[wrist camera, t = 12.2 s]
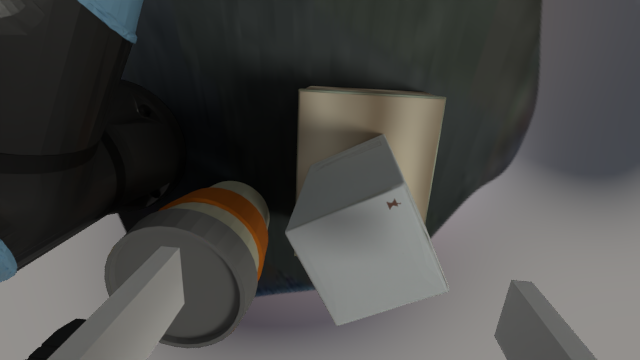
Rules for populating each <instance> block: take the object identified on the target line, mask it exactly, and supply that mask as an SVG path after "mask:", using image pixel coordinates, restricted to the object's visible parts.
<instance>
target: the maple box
mask: <svg viewBox="0 0 640 360" xmlns="http://www.w3.org/2000/svg"><path fill="white" fill-rule="evenodd" d="M445 103H446V97H443V96H434V95H431V94H429V93H426V92H415V91H397V90H378V89H360V88H342V87H324V86H309V87H308V88H306V89H302V88H300V89H299V92H298V132H297V172H296V202H297V200H298V197H299V195H300V192H301V189H302V187H303V184H304V181H305V179H306V176H307V173H308V171H309V168H310V166H311V165H312V164H315V163H317V162H319V161H322V160H324V159H326V158H329V157H331V156H333V155H336V154H338V153H340V152H343V151H345V150H347V149H350V148H352V147H354V146H356V145H359V144H361V143H364V142H366V141H368V140H370V139H373V138H375V137H377V136H380V135H382V134H385V136H386V139H387V141H388V143H389V145H390V147H391V149H392V151H393V154H394V156H395V158H396V160H397V162H398V165H399V167H400V169H401V171H402V174H403V176H404V178H405V181H406V183H407V185H408V187H409V189H410V192H411V194H412V196H413V199H414V201H415V203H416V205H417V208H418V210H419V213H420V215H421V217H422V220H423V222H424V225H425V221H426V215H427V210H428V204H429V198H430V192H431V186H432V180H433V174H434V168H435V162H436V156H437V150H438V144H439V138H440V132H441V127H442V121H443V115H444V109H445ZM294 256H297V254H296V253H295V251H294Z"/></svg>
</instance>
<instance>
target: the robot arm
mask: <svg viewBox="0 0 640 360" xmlns="http://www.w3.org/2000/svg"><path fill="white" fill-rule="evenodd" d="M142 4H143V0H0V282H2V281H5V280H8V279H9V278H11V277H12V276H14V275H15V273H17V271H18V270H20V269H21V268H23V267H25V266H26V265H28V264H29V263H31V262H33V261H34V260H36V259H37V258H39V257H41V256H42V255H44V254H45V253H47V252H48V251H50V250H52V249H53V248H55V247H57V246H58V245H60V244H61V243H63V242H65V241H66V240H68V239H69V238H71V237H73V236H74V235H76V234H77V233H79V232H81V231H82V230H84V229H85V228H87V227H89V226H90V225H92V224H93V223H95V222H97V221H98V220H100V219H101V218H103V217H104V216H106V215H109V214H115V213H121V212H127V211H132V210H138V209H142V208H145V207H148V206H150V205H153V204H154V203H156V202H158V201H159V200H161V199H162V198H163V197H165V196H166V195H168V194H169V193H170V192H171V191H172V190H173V189H174V188H175V187H176V186H177V184H178V183H179V181H180V179H181V177H182V175H183V172H184V169H185V164H186V147H185V141H184V137H183V134H182V131H181V129H180V126H179V124H178V122H177V120H176V119H175V117H174V115H173V114H172V112H171V111H170V110H169V109H168V107H167V106H166V105H165V104H164V103H163V102H162V101H161V100H160V99H159V98H158V97H156V96H155V95H154V94H153V93H151V92H150V91H148V90H146V89H145V88H143V87H141V86H139V85H137V84H134V83H131V82H128V81H124V80H120V79H121V76H122V73H123V70H124V67H125V65H126V62H127V59H128V56H129V53H130V50H131V47H132V44H133V43H134V44H135V43H136V41H137V36H136V34H135V32H136V27H137V23H138V19H139V15H140V11H141V7H142ZM183 305H184V292H183V281H182V270H181V259H180V249H179V248H176V247H165V246H161V247H160V248H159V249H158V250H157V251H156V252H155V253H154V254H153V255H152V256H151V257H150V258H149V259H148V260H147V261H146V262H145V263H144V264H143V265H142V266H141V267H140V268H139V269H138V270H137V271H135V272H134V273H133V274H132V275H131V276H130V277H129V278H128V279H127V280H126V281H125V282H124V283H123V284H122V285H121V286H120V287H119V288H118V289H117V290H116V291H115V292H114V293H113V294H112V295H111V296H110V297H109V298H108V299H107V300H106V301H105V302H104V303H103V304H102V306H101V307H99V308H98V309H97V310H96V311H95V312H94V313H93V314H92V315H91V316H90V317H89V319H87V320H85V319H75V320H73V321H71V322H70V323H68V324H66V325H65V326H63V327H61V328H60V329H58V330H57V331H56V332H54V333H53V334H52V335H51V336H50V337H49V338H48V339H47V340H46V341H45V342H44V343H43V344H42V346H41V347H39V348H37V349H36V350H35V351H34V352H33V353H32V354H31V355H30V356H29V358H28V359H27V360H147V359H148V357H149V355H150V354H151V353H152V351H153V350H154V348H155V347H156V345H157V344H158V342H159V341H160V339H161V338H162V336H163V335H164V333H165V332H166V330H167V329H168V327H169V326H170V324H171V323H172V321H173V320H174V318H175V317H176V315H177V314H178V312H179V311H180V309H181V308H182V306H183ZM494 336H495V338H496V340H497V342H498V344H499V345H500V347H501V349H502V351H503V353H504V354H505V357H506V358H507V360H597V359H596V358H595V357H594V355H593V354H592V353H591V352H590V351H589V349H588V348H587V347H586V346H585V345H584V343H583V342H582V341H581V340H580V339H579V337H578V336H577V335H576V334H575V333H574V331H573V330H572V329H571V328H570V327H569V326H568V324H567V323H566V322H565V321H564V320H563V318H562V317H561V316H560V315H559V314H558V312H557V311H556V310H555V309H554V308H553V307H552V305H551V304H550V303H549V302H548V301H547V300H546V298H545V297H544V296H543V295H542V293H541V292H540V291H539V290H538V289H537V287H536V286H535V285H534V284H533V283H532V282H527V281H517V280H511V283H510V287H509V290H508V293H507V296H506V300H505V303H504V306H503V310H502V313H501V316H500V319H499V322H498V326H497V329H496V332H495V335H494Z"/></svg>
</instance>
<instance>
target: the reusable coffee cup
mask: <svg viewBox="0 0 640 360" xmlns="http://www.w3.org/2000/svg"><path fill="white" fill-rule="evenodd" d="M268 225H269V210H268V207H267V204H266V202H265V200H264V199H263V197H262V196H261V195H260V194H259V193H258V192H257V191H256V190H255V189H253V188H252V187H251V186H249V185H246V184H244V183H241V182H237V181H224V182H220V183H217V184H215V185H213V186H211V187H209V188H202V189H199V190H196V191H193V192H191V193H189V194H187V195H185V196H183V197H181V198H179V199H177V200H175V201H173V202H170V203H169V204H167V205H165V206H164V207H162V208H161V209H160V210H158V211H157V212H154V213H151V214H149V215H148V216H146V217H144V218H143V219H141V220H140V221H139V222H138V223H137V224H136V225H135V226H134V227H133V228H132V229H131V230H130V231H129V232H128V233H127V234H126V235H125V236H124V237H123V238H122V239H120V241H119V242H117V243H116V245H114V247H113V249H112V250H111V252H110V254H109V255H108V258H107V261H106V265H105V283H106V288H107V291H108V294H109V297H110V296H111V295H112V294H113V293H114V292H115V291H116V290H117V289H118V288H119V287H120V286H121V285H122V284H123V283H124V282H125V281H126V280H127V279H128V278H129V277H130V276H131V275H132V274H133V273H134V272H135V271H137V270H138V269H139V268H140V267H141V266H142V265H143V264H144V263H145V262H146V261H147V260H148V259H149V258H150V257H151V256H152V255H153V254H154V253H155V252H156V251H157V250H158V249H159V248H160V247H161V246H165V247H176V248H179V249H180V259H181V270H182V281H183V292H184V305H183V306H182V308H181V309H180V311H179V312H178V314H177V315H176V317H175V318H174V320H173V321H172V323H171V324H170V326H169V327H168V329H167V330H166V332H165V333H164V335H163V336H162V338H161V339H160V341H159V342H160V343H163V344H166V345H171V346H174V347H182V348H200V347H204V346H209V345H212V344H215V343H217V342H219V341H221V340H223V339H224V338H226V337H227V336H228V335H230V334H231V333H232V332H233V331H234V330H235V328H236V327H237V326H238V325H239V323H240V321H241V319H242V318H243V316H244V315H245V313H246V311H247V310H248V308H249V306H250V305H251V302H252V301H253V299H254V297H255V294H256V289H257V285H258V280H259V278H260V276H261V272H262V267H263V263H264V258H265V254H266V249H267V245H268V232H267V229H268Z"/></svg>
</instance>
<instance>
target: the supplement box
mask: <svg viewBox="0 0 640 360" xmlns="http://www.w3.org/2000/svg"><path fill="white" fill-rule="evenodd" d="M285 234H286V236H287V238H288V240H289V242H290V243H291V245H292V247H293V249H294V251H295V253H296V254H297V256H298V258H299V260H300V262H301V263H302V265H303V267H304V269H305V271H306V272H307V274H308V276H309V278H310V280H311V281H312V283H313V285H314V287H315V289H316V290H317V292H318V294H319V296H320V297H321V299H322V301H323V302H324V305H325V306H326V308H327V310H328V312H329V313H330V315H331V317H332V319H333V321H334V323H335V324H336V325H337V326H339V325H342V324H345V323H348V322H352V321H355V320H358V319H361V318H364V317H367V316H370V315H374V314H377V313H381V312H384V311H387V310H390V309H393V308H396V307H399V306H402V305H405V304H409V303H412V302H416V301H419V300H423V299H426V298H430V297H433V296H437V295H440V294H444V293H447V292H449V286H448V283H447V281H446V278H445V275H444V273H443V270H442V268H441V265H440V263H439V260H438V258H437V255H436V252H435V250H434V247H433V245H432V242H431V240H430V237H429V235H428V232H427V230H426V227H425V225H424V222H423V220H422V217H421V215H420V213H419V210H418V208H417V205H416V203H415V201H414V199H413V196H412V194H411V192H410V189H409V187H408V185H407V183H406V181H405V178H404V176H403V174H402V171H401V169H400V167H399V165H398V162H397V160H396V158H395V156H394V154H393V151H392V149H391V147H390V145H389V143H388V141H387V139H386V136H385V134H382V135H380V136H377V137H375V138H373V139H370V140H368V141H366V142H364V143H361V144H359V145H356V146H354V147H352V148H350V149H347V150H345V151H343V152H340V153H338V154H336V155H333V156H331V157H329V158H326V159H324V160H322V161H319V162H317V163H315V164H312V165H311V166H310V168H309V171H308V173H307V176H306V179H305V181H304V184H303V187H302V189H301V192H300V195H299V197H298V200H297V202H296V205H295V208H294V210H293V213H292V215H291V218H290V221H289V224H288V226H287V229H286V231H285Z"/></svg>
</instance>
